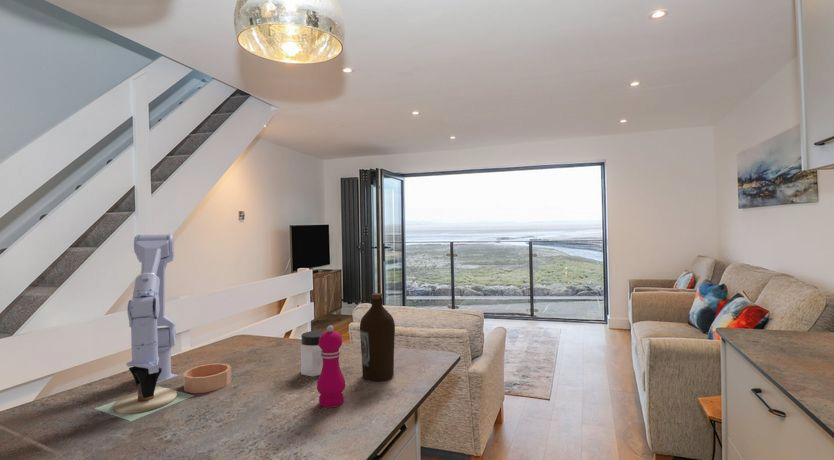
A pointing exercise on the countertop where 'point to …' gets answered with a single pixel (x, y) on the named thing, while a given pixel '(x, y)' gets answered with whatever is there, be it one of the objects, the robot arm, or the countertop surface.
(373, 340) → the olive oil
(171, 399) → the lid
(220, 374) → the bowl
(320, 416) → the countertop surface
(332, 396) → the pepper mill
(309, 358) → the jar
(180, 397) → the mat
